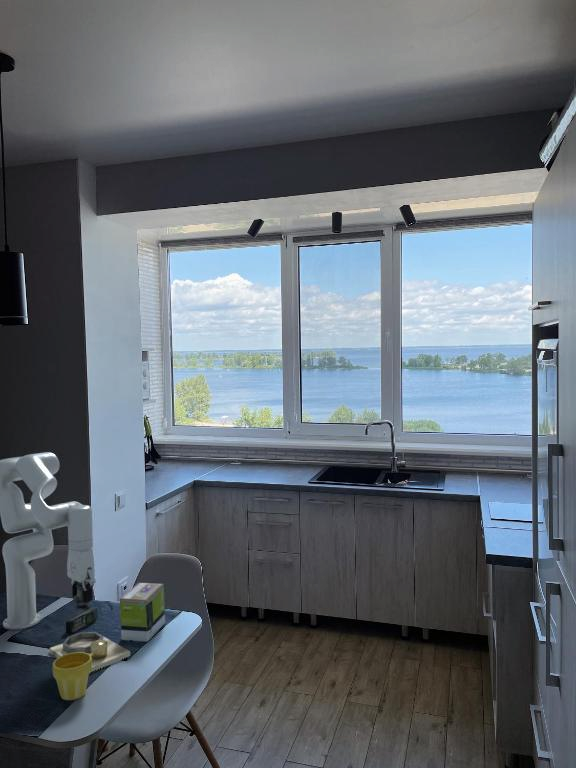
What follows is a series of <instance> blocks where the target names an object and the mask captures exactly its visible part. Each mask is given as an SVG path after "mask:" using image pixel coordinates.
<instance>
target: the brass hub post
mask: <svg viewBox="0 0 576 768" xmlns="http://www.w3.org/2000/svg"><path fill="white" fill-rule="evenodd" d="M107 655H108V652H107V641H106V640H96V641H93V642H92V643H91V657H92V659H94V660H99V659H103V658H105V657H106V656H107Z"/></svg>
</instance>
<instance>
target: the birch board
mask: <svg viewBox="0 0 576 768" xmlns="http://www.w3.org/2000/svg"><path fill="white" fill-rule="evenodd" d="M102 636H103V640H106V641H107V652H108V655H107V656H106V657H105V658H103V659H99V660H94V659H92V669H91V671H90V672H89V674H91V672H92V673H94V672H96V671H99V670H100V668H101V669H103V667H104V668H106V667H108V666H111V665H113V664H116V663H118V662H121V661H122V659H123V660H124V658H125V659H127V658H129V656H130V657H131V651H130V650H128V649H127V648H124V647H123V646H122V645H120V644H118V643H116V642H114V641H112V640H110V639H109V638H107V637H106V636H104V635H102ZM93 641H96V640H95V639H81V640H78V641H76V642H73V643H70V644H69V646H70V647H86V646H89V645H91V643H92V642H93ZM63 643H64V642H63ZM63 643H60V644H57V645H54V646H51V647H49V654H51V655H52V656H54V657H55V658H56V659H57V658H58V657H60V656H62V655H65V654H68V653H66V652H65V651H63ZM88 654H90V655H91V652H90V653H88ZM126 657H127V658H126ZM105 666H106V667H105ZM98 669H99V670H98ZM95 670H96V671H95ZM93 671H94V672H93Z"/></svg>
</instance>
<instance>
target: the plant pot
mask: <svg viewBox="0 0 576 768" xmlns="http://www.w3.org/2000/svg"><path fill="white" fill-rule="evenodd" d="M91 669H92V657H91V655H90V654H88V653H84V652H74V653H68V654H65V655H62V656H60V657H58V658H57V657H56V659H54V660H53V662H52V676H53V678H54V679H55V680H56V684H57V688H58V691H59V695H60V697H61V700H64V701H76V700H77V699H80V698H82V697H83V696H84V695H85V694H86V690H87V685H88V680H89V675H90V673H89V672H90V671H91Z"/></svg>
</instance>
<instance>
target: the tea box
mask: <svg viewBox="0 0 576 768" xmlns="http://www.w3.org/2000/svg"><path fill="white" fill-rule="evenodd" d="M164 590H165V587H164V583H150V582H138V583H136V584H135V586H133V587H132V588H131V589H130V590H128V591H127V592H126V593H124V594H123V595H122V596H121V597H120V598H119V614H120V615H119V617H120V638H121V640H122V641H130V640H133V641H134V642H144V643H145V642H149V640H150V639H152V638H153V636H154V635H155V634H156V633H157V632H158V631H159V630H160V629H161V628H162V627H163V626H164V625H165V623H166V613H165V609H166V608H165V591H164Z"/></svg>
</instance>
